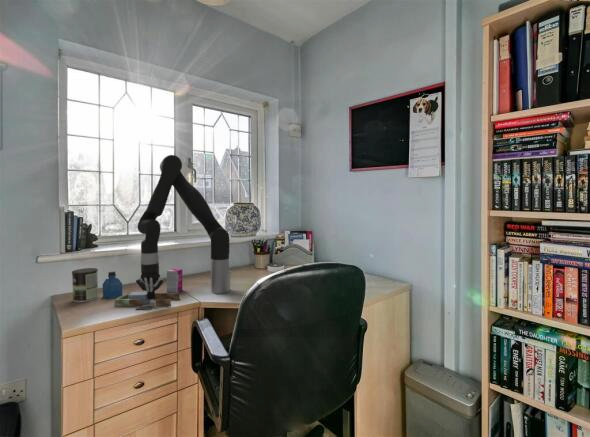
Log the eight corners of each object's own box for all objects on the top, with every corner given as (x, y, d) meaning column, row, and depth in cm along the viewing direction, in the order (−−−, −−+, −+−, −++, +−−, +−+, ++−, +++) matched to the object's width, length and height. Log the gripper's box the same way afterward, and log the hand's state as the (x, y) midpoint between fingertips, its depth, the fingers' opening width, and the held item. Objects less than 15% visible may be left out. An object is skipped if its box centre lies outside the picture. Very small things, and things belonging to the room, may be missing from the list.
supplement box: (176, 293, 158) (176, 271, 157) (166, 292, 159) (165, 270, 158) (183, 290, 163) (182, 268, 163) (173, 289, 164) (172, 268, 164)
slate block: (150, 300, 147) (150, 291, 146) (145, 303, 142) (145, 295, 141) (133, 300, 146) (133, 292, 146) (128, 303, 141) (127, 295, 141)
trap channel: (183, 296, 153) (183, 290, 153) (165, 310, 133) (165, 303, 133) (133, 295, 153) (133, 290, 153) (108, 309, 133) (108, 303, 133)
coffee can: (72, 303, 142) (71, 273, 141) (72, 298, 150) (71, 269, 149) (99, 299, 148) (98, 270, 147) (97, 294, 156) (96, 267, 155)
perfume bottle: (109, 298, 149) (108, 274, 149) (103, 296, 153) (102, 272, 152) (122, 295, 155) (121, 271, 154) (115, 293, 158) (114, 270, 157)
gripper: (167, 260, 146) (168, 296, 146) (139, 260, 146) (141, 296, 147) (160, 263, 138) (161, 301, 139) (131, 263, 138) (132, 301, 139)
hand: (151, 299), depth 143 cm, fingers closed
